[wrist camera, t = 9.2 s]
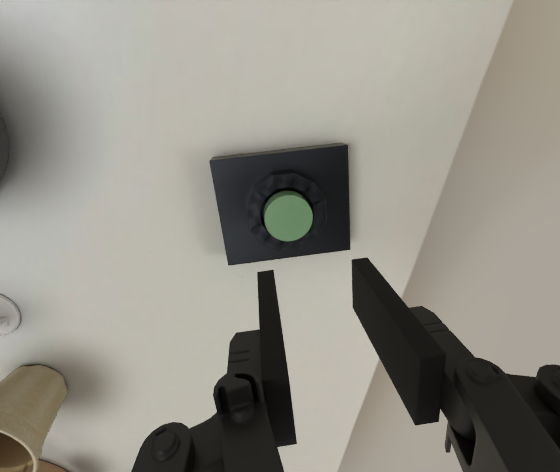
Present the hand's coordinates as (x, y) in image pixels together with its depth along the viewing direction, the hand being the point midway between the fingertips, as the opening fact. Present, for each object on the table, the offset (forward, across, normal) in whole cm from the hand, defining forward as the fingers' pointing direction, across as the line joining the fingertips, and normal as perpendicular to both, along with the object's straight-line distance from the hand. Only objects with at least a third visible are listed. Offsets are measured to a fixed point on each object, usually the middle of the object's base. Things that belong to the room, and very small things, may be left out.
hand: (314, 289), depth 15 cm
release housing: (+17, 0, 0) cm, 17 cm away
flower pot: (+17, -30, -18) cm, 39 cm away
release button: (+13, 0, 0) cm, 13 cm away
